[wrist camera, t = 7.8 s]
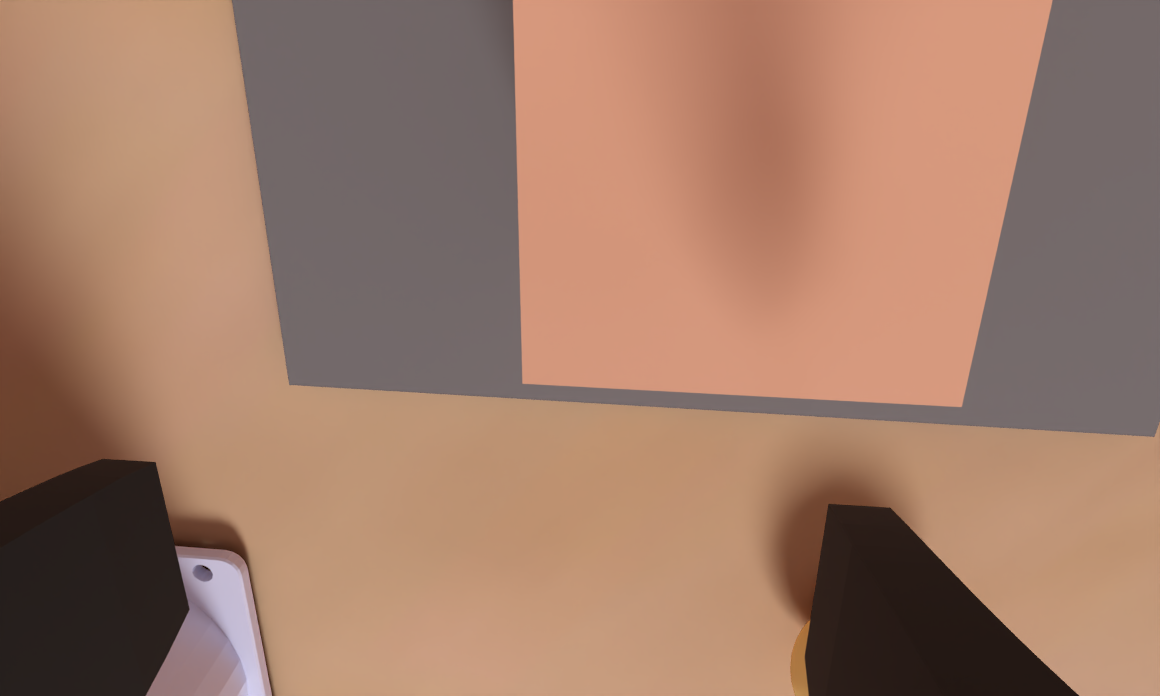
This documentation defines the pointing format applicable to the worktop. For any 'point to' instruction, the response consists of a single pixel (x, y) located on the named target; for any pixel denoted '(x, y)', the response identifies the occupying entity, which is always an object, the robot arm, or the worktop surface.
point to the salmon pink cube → (765, 191)
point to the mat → (491, 232)
